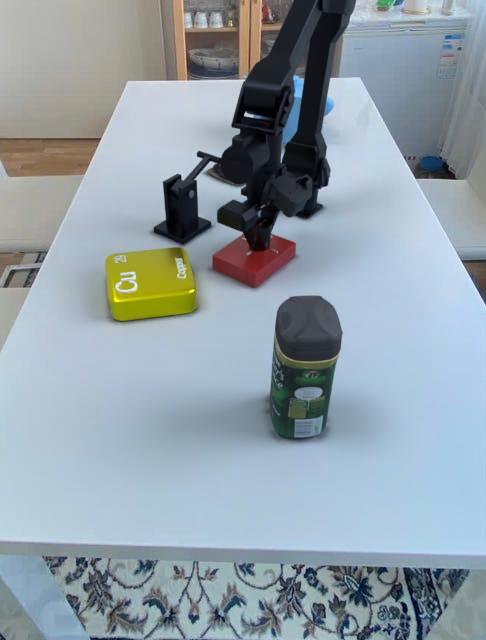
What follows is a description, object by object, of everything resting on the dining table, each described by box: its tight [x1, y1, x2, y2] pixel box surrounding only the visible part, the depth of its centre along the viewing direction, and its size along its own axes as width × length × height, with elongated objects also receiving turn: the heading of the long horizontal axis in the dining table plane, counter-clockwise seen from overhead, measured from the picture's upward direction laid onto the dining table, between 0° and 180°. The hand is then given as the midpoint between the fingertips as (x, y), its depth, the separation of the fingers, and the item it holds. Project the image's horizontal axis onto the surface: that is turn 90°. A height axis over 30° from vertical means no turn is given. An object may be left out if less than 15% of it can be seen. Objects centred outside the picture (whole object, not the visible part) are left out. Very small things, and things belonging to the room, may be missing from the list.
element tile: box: [104, 246, 198, 322], centre depth 100 cm, size 15×15×5 cm
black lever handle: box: [170, 150, 221, 200], centre depth 111 cm, size 12×6×2 cm, turn 140°
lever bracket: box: [152, 173, 212, 246], centre depth 112 cm, size 9×8×10 cm
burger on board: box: [206, 163, 246, 187], centre depth 131 cm, size 11×8×4 cm
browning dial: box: [249, 218, 272, 251], centre depth 104 cm, size 4×4×5 cm
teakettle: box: [242, 74, 335, 144], centre depth 140 cm, size 19×19×15 cm
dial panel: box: [211, 232, 297, 289], centre depth 106 cm, size 13×10×3 cm
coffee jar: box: [269, 295, 344, 439], centre depth 74 cm, size 10×8×19 cm
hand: (259, 242), depth 105 cm, fingers closed on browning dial, 4 cm apart
